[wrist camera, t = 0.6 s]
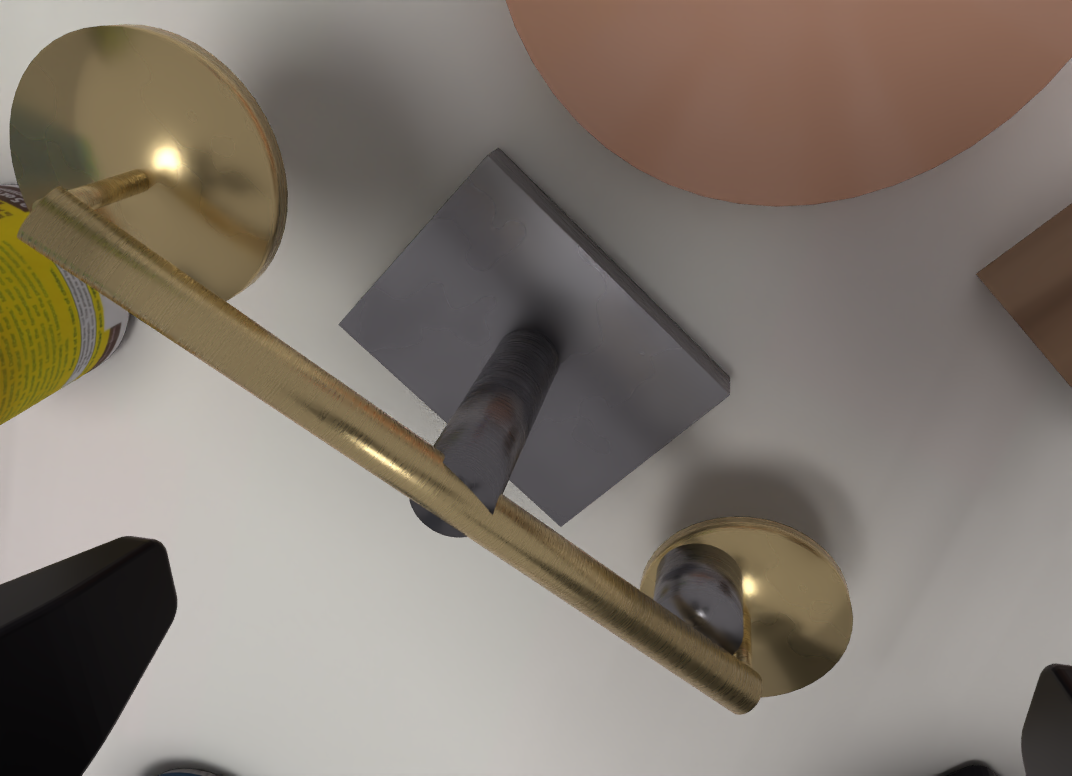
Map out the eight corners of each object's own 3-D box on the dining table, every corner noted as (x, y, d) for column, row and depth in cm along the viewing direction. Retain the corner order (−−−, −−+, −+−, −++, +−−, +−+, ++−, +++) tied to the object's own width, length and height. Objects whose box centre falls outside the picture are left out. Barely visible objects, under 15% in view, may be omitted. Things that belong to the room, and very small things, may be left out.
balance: (893, 540, 22) (992, 877, 14) (719, 646, 25) (714, 982, 16) (293, -56, 19) (-54, -87, 10) (167, 141, 21) (-189, 240, 13)
